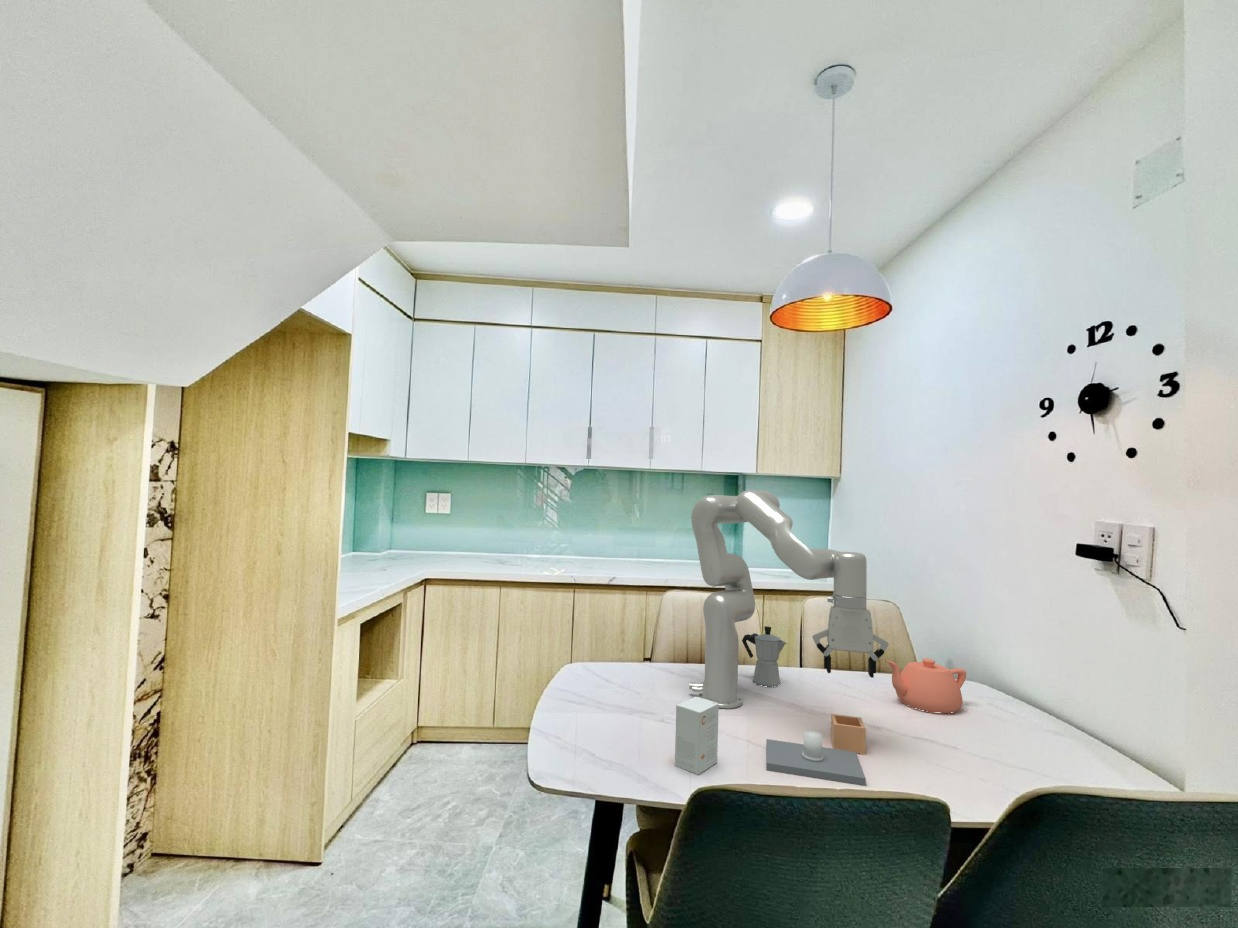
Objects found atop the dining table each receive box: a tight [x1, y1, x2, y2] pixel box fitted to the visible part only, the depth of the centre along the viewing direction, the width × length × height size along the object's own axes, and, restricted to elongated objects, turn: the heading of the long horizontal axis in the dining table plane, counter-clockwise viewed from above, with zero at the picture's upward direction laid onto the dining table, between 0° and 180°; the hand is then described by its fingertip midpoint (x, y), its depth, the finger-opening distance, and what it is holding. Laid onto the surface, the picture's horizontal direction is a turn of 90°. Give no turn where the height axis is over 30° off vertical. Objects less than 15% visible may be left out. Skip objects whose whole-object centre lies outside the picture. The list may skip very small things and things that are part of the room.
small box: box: [674, 696, 720, 775], centre depth 124 cm, size 8×6×13 cm
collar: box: [829, 713, 867, 755], centre depth 136 cm, size 7×7×6 cm
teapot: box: [885, 658, 967, 714], centre depth 168 cm, size 25×17×13 cm
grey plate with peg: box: [765, 730, 867, 787], centre depth 126 cm, size 20×13×6 cm, turn 75°
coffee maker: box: [741, 626, 788, 688], centre depth 183 cm, size 15×9×18 cm, turn 58°
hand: (849, 673), depth 137 cm, fingers open, 9 cm apart
